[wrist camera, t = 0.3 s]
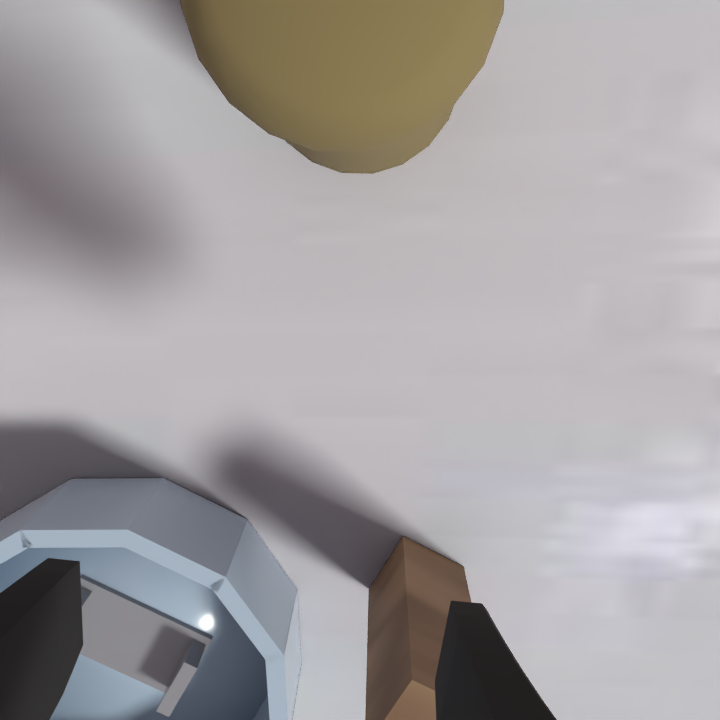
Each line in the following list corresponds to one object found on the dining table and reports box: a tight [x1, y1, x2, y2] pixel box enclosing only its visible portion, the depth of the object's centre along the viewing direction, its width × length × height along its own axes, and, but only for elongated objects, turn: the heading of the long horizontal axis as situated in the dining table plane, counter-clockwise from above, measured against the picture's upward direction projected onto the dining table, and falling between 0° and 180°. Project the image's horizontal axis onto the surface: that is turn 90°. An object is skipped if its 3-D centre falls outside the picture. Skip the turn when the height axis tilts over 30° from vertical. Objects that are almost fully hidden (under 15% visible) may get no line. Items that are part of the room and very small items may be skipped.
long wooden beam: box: [366, 536, 471, 720], centre depth 21 cm, size 2×2×7 cm
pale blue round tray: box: [0, 478, 301, 720], centre depth 24 cm, size 12×12×4 cm
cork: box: [180, 0, 504, 173], centre depth 15 cm, size 6×6×11 cm
